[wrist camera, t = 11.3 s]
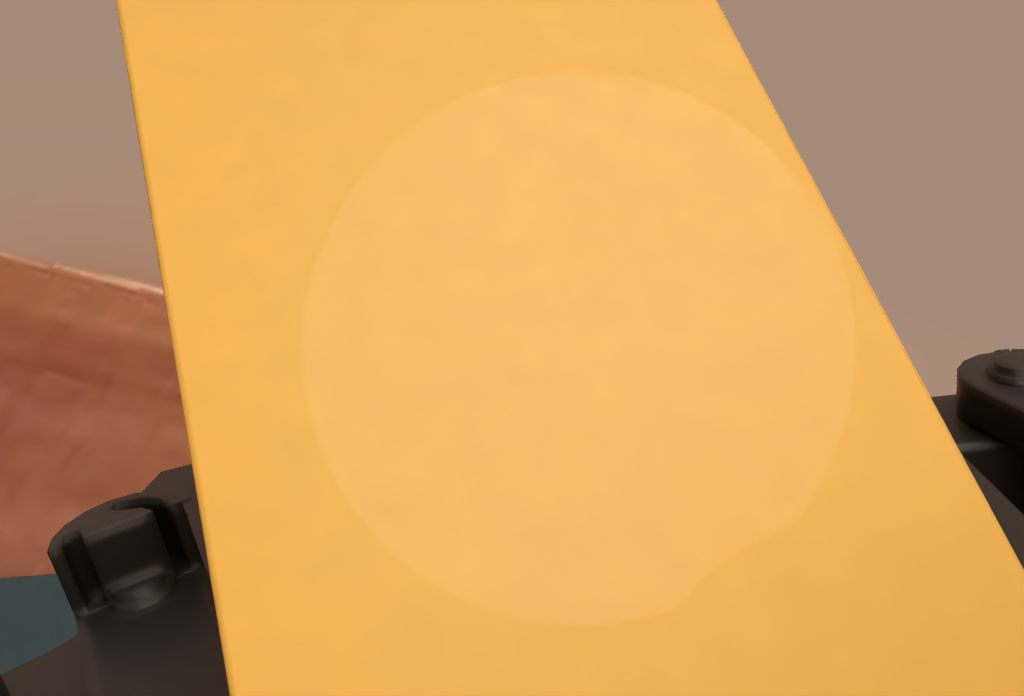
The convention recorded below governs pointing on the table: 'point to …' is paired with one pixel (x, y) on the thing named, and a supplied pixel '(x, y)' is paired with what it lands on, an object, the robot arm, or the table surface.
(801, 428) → the cereal box
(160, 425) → the table surface
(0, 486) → the table surface
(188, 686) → the robot arm
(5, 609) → the slate mat
